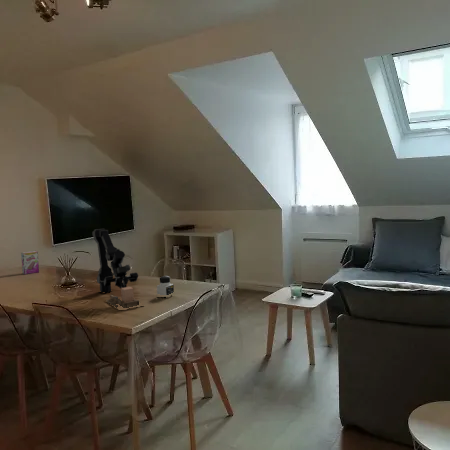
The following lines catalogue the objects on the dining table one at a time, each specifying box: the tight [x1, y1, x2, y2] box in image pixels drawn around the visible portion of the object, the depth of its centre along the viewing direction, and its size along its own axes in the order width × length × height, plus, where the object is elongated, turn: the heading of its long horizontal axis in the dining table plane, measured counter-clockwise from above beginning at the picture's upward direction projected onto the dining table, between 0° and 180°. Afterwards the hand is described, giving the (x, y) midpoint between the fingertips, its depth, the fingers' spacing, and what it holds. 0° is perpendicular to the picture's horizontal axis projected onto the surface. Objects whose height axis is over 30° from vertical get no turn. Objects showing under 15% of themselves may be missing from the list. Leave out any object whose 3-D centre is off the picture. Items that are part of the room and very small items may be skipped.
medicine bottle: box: [156, 275, 175, 295], centre depth 268 cm, size 7×7×12 cm
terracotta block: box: [120, 286, 135, 303], centre depth 251 cm, size 5×5×9 cm
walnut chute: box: [105, 294, 140, 309], centre depth 256 cm, size 24×14×4 cm, turn 32°
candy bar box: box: [20, 250, 40, 275], centre depth 349 cm, size 11×5×16 cm, turn 130°
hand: (125, 291), depth 253 cm, fingers closed, pressing on terracotta block
